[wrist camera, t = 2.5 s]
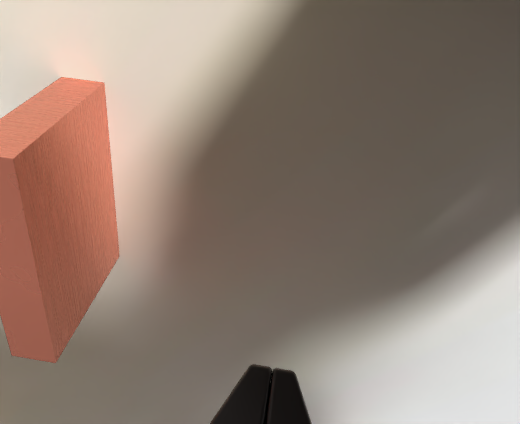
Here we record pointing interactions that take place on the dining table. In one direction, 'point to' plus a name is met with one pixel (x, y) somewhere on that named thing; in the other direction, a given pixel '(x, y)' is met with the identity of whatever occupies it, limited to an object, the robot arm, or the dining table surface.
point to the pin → (54, 215)
